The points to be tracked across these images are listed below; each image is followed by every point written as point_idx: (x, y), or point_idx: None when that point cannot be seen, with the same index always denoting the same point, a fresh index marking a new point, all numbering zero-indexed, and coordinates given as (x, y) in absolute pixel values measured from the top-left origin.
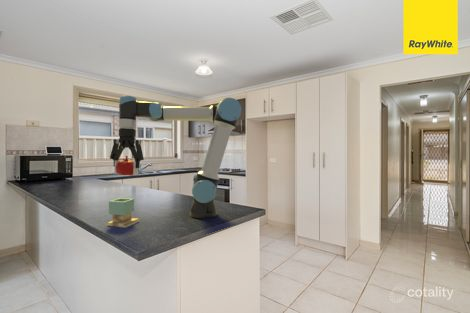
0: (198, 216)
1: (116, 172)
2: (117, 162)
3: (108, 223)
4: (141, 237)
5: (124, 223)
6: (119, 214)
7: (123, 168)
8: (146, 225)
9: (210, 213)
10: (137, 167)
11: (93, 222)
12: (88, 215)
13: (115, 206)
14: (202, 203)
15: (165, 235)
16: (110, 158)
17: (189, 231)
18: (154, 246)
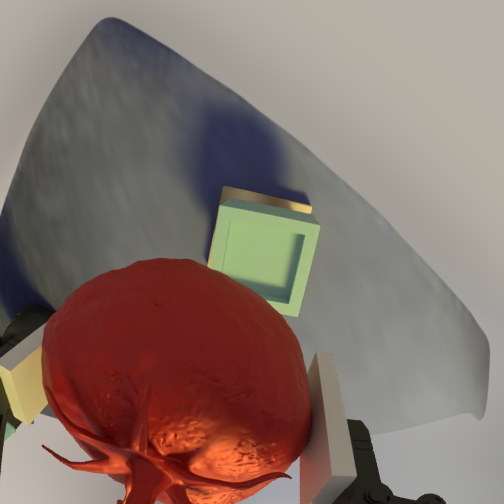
0: (39, 309)
1: (314, 369)
2: (316, 468)
3: (307, 205)
4: (128, 95)
5: (233, 197)
6: (253, 202)
7: (132, 264)
8: (159, 220)
9: (14, 316)
10: (26, 330)
11: (385, 246)
12: (436, 330)
13: (275, 212)
14: (10, 334)
15: (71, 128)
16: (434, 496)
17: (28, 177)
18: (80, 49)
